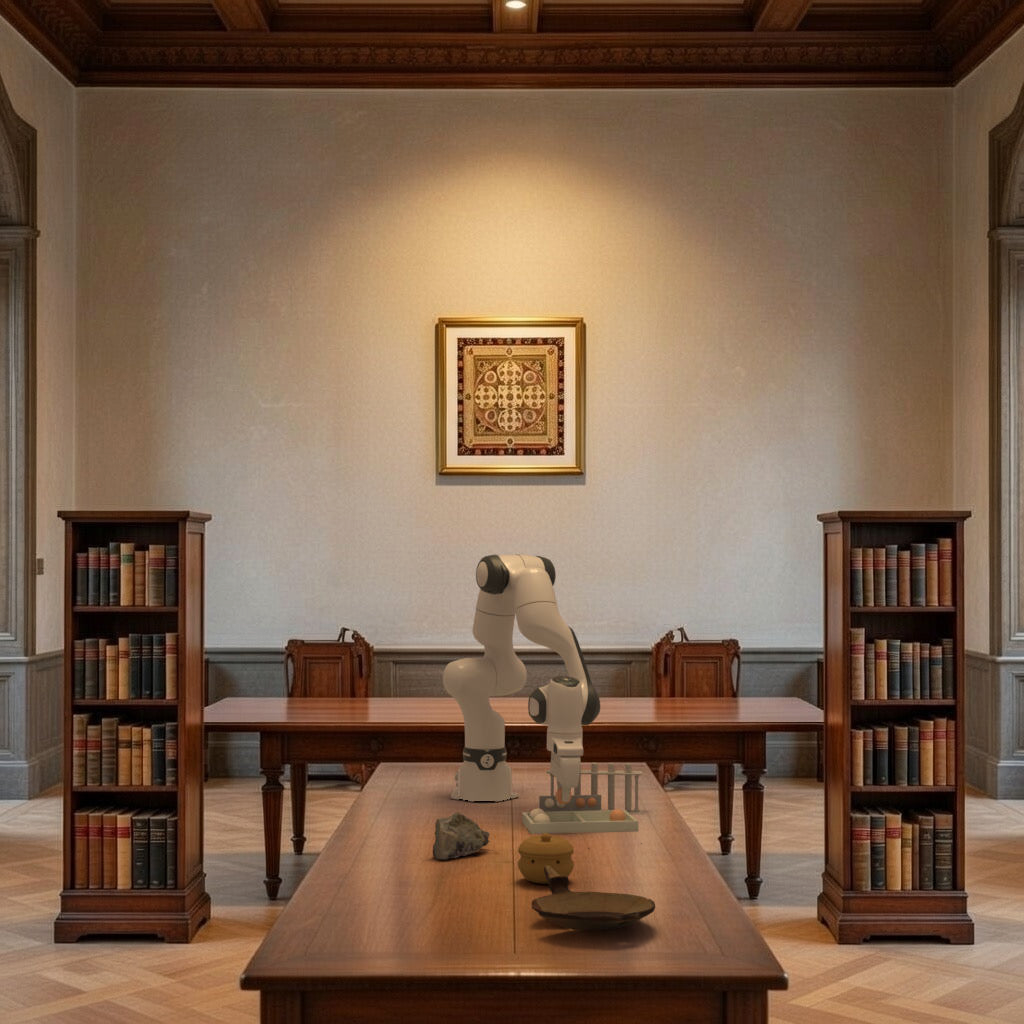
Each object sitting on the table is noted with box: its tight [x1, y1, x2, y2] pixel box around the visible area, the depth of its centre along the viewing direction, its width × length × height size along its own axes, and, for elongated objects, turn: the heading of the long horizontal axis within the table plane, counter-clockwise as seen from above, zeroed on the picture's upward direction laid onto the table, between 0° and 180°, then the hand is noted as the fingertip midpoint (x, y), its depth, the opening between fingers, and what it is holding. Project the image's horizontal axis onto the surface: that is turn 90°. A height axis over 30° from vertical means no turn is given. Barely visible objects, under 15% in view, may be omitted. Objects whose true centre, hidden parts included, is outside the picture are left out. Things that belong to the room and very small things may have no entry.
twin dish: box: [521, 809, 639, 835], centre depth 341 cm, size 15×26×3 cm, turn 98°
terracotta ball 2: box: [609, 808, 625, 821], centre depth 343 cm, size 4×4×4 cm
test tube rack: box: [546, 762, 643, 815], centre depth 362 cm, size 25×4×13 cm, turn 86°
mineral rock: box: [432, 811, 490, 861], centre depth 310 cm, size 13×11×10 cm
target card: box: [538, 794, 602, 812], centre depth 354 cm, size 1×16×6 cm, turn 98°
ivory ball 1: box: [530, 807, 545, 822], centre depth 343 cm, size 4×4×4 cm
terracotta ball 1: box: [554, 788, 573, 804], centre depth 342 cm, size 4×4×4 cm
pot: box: [517, 833, 575, 885], centre depth 287 cm, size 12×12×10 cm
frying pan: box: [531, 865, 656, 932], centre depth 255 cm, size 22×30×8 cm
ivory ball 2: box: [534, 813, 550, 823], centre depth 337 cm, size 4×4×4 cm
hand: (563, 799), depth 342 cm, fingers closed on terracotta ball 1, 4 cm apart
